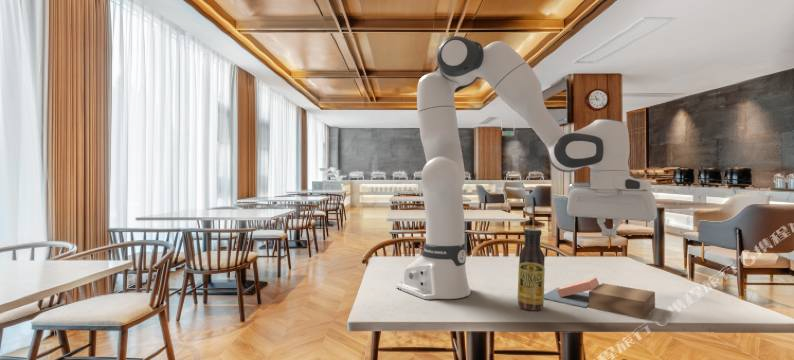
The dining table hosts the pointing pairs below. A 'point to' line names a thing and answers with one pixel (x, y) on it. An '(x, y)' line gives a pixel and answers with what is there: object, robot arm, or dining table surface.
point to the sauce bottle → (531, 272)
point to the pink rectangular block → (578, 287)
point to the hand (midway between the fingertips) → (609, 236)
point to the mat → (569, 298)
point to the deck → (622, 300)
